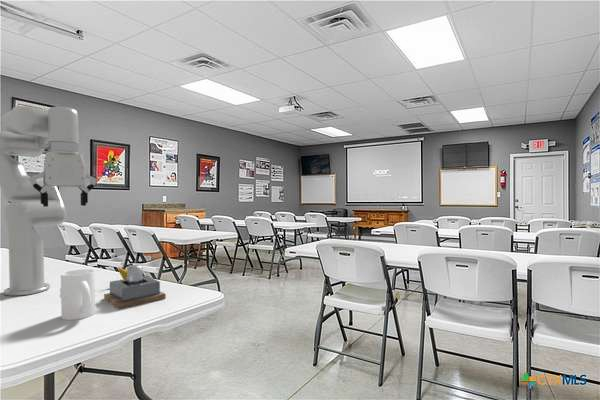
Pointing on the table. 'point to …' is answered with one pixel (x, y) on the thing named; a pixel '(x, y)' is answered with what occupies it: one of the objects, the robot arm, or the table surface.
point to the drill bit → (123, 273)
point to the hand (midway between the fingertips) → (65, 206)
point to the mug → (77, 294)
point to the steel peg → (134, 274)
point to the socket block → (134, 289)
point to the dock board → (134, 302)
